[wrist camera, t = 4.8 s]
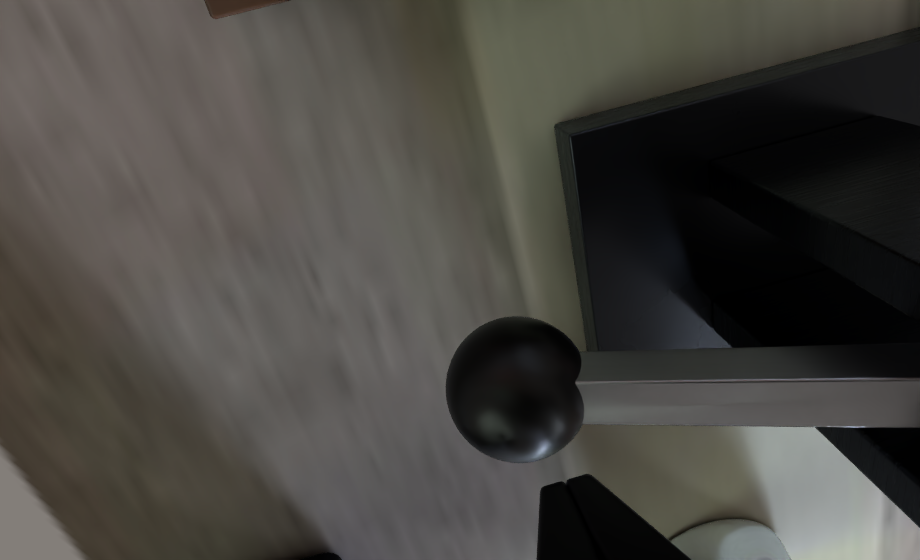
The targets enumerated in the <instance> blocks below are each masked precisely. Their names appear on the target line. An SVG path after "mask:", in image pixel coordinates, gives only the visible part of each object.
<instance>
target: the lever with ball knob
mask: <svg viewBox="0 0 920 560" xmlns="http://www.w3.org/2000/svg"><path fill="white" fill-rule="evenodd" d="M446 398H447V404H448V408H449V412H450V414H451V417H452V419H453V421H454V423H455V425H456V427H457V429H458V430H459V432H460V433H461V434H462V435H463V437H464V438H465V439H466V440H467V441H468V442H469V443H470V444H471V445H472V446H473V447H475V448H476V449H477V450H479V451H480V452H482V453H484V454H486V455H488V456H490V457H492V458H495V459H498V460H501V461H506V462H512V463H528V462H534V461H538V460H541V459H544V458H547V457H549V456H551V455H553V454H555V453H556V452H558V451H560V450H561V449H562V448H564V447H565V446H566V445H567V444H568V443H569V442H570V441H571V440H572V439H573V438H574V437H575V435H576V434H577V433H578V431H579V430H580V428H581V426H582V424H609V425H693V426H776V427H859V428H920V343H892V344H854V345H817V346H779V347H742V348H705V349H667V350H630V351H592V352H579V350H578V349H577V347H576V346H575V345H574V343H573V342H572V341H571V340H570V339H569V338H568V337H567V336H566V335H565V334H564V333H563V332H561V331H560V330H559V329H557V328H555V327H554V326H552V325H550V324H548V323H546V322H544V321H541V320H538V319H534V318H530V317H522V316H512V317H504V318H499V319H496V320H493V321H490V322H488V323H486V324H484V325H482V326H480V327H479V328H477V329H476V330H475V331H473V332H472V333H471V334H470V335H468V336H467V337H466V338H465V340H464V341H463V342H462V343H461V344H460V346H459V347H458V349H457V350H456V352H455V354H454V356H453V358H452V360H451V363H450V366H449V369H448V373H447V379H446Z"/></svg>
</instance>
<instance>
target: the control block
mask: <svg viewBox="0 0 920 560" xmlns="http://www.w3.org/2000/svg"><path fill="white" fill-rule="evenodd" d="M204 1H205V3H206V6H207V9H208V11H209V14H210V16H211V17H212V18H213V19H218V18H223V17H227V16H231V15H235V14H239V13H243V12H247V11H251V10H254V9H258V8H262V7H266V6H270V5H274V4H278V3H282V2H286V1H290V0H204Z"/></svg>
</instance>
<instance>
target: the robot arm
mask: <svg viewBox="0 0 920 560" xmlns="http://www.w3.org/2000/svg"><path fill="white" fill-rule="evenodd" d="M301 560H342V559H341V558H340V557H339V555H337V554H334V553H321V554H318V555H315V556H311V557H308V558H304V559H301ZM537 560H692V559H690V558H689V557H688V556H687V555H686V554H684V553H683V552H682V551H681V550H680V549H679V548H677V547H676V546H675V545H674V544H673V543H671V542H670V541H669V540H668V539H667V538H666V537H664V536H663V535H662V534H661V533H660V532H658V531H657V530H656V529H655V528H654V527H653V526H651V525H650V524H649V523H648V522H647V521H645V520H644V519H643V518H642V517H641V516H639V515H638V514H637V513H636V512H635V511H634V510H632V509H631V508H630V507H629V506H628V505H626V504H625V503H624V502H623V501H622V500H621V499H619V498H618V497H617V496H616V495H615V494H613V493H612V492H611V491H610V490H609V489H608V488H606V487H605V486H604V485H603V484H602V483H600V482H599V481H598V480H597V479H596V478H595V477H593V476H592V475H589V474H585V475H581V476H578V477H574V478H571V479H569V480H567V482H566V484H565V483H564V482H557V483H553V484H550V485H547V486H544V487H542V488H541V490H540V505H539V524H538V543H537Z"/></svg>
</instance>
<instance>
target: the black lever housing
mask: <svg viewBox="0 0 920 560" xmlns="http://www.w3.org/2000/svg"><path fill="white" fill-rule="evenodd" d="M554 128H555V135H556V142H557V149H558V155H559V162H560V169H561V176H562V182H563V189H564V196H565V203H566V210H567V216H568V223H569V230H570V237H571V244H572V250H573V257H574V264H575V271H576V277H577V284H578V291H579V298H580V305H581V311H582V318H583V325H584V332H585V338H586V345H587V352H592V351H630V350H667V349H705V348H742V347H779V346H817V345H854V344H892V343H920V27H919V28H915V29H911V30H907V31H904V32H900V33H896V34H892V35H889V36H885V37H881V38H877V39H874V40H870V41H866V42H862V43H859V44H855V45H851V46H847V47H844V48H840V49H836V50H832V51H829V52H825V53H821V54H817V55H814V56H810V57H806V58H802V59H799V60H795V61H791V62H787V63H784V64H780V65H776V66H772V67H769V68H765V69H761V70H757V71H754V72H750V73H746V74H742V75H739V76H735V77H731V78H727V79H724V80H720V81H716V82H712V83H709V84H705V85H701V86H697V87H694V88H690V89H686V90H682V91H679V92H675V93H671V94H667V95H664V96H660V97H656V98H652V99H649V100H645V101H641V102H637V103H633V104H630V105H626V106H622V107H618V108H615V109H611V110H607V111H603V112H600V113H596V114H592V115H588V116H585V117H581V118H577V119H573V120H570V121H566V122H562V123H558V124H556V125H555V126H554ZM815 428H816V429H817V430H818V431H819V432H821V433H822V434H823V435H824V436H825V437H826V438H827V439H828V440H829V441H830V442H831V443H832V444H833V445H834V446H835V447H836V448H837V449H838V450H839V451H840V452H841V453H842V454H843V455H844V456H845V457H847V458H848V459H849V460H850V461H851V462H852V463H853V464H854V465H855V466H856V467H857V468H858V469H859V470H860V471H861V472H862V473H863V474H864V475H865V476H866V477H867V478H868V479H869V480H870V481H872V482H873V483H874V484H875V485H876V486H877V487H878V488H879V489H880V490H881V491H882V492H883V493H884V494H885V495H886V496H887V497H888V498H889V499H890V500H891V501H892V502H893V503H894V504H895V505H896V506H898V507H899V508H900V509H901V510H902V511H903V512H904V513H905V514H906V515H907V516H908V517H909V518H910V519H911V520H912V521H913V522H914V523H915V524H916V525H917V526H918V527H919V528H920V428H859V427H815Z"/></svg>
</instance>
